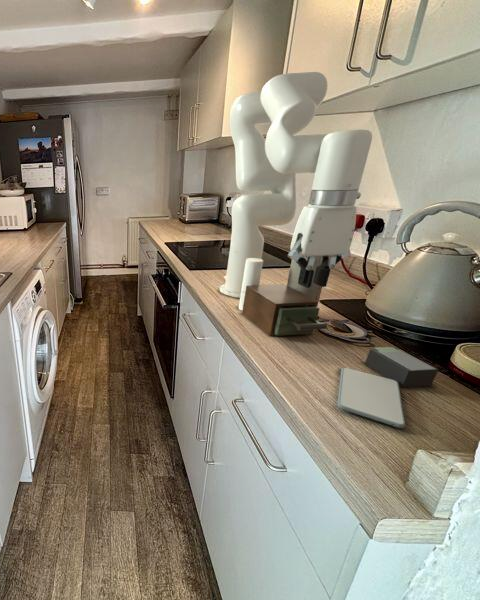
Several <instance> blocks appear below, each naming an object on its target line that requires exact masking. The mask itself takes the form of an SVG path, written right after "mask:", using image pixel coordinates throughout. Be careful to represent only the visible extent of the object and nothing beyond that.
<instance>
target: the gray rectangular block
mask: <svg viewBox="0 0 480 600" xmlns="http://www.w3.org/2000/svg"><path fill="white" fill-rule="evenodd" d="M364 364H365V365H366V366H368V367H369V368H371V369H373V370H374V371H375V372H377V373H379V374H380V375H382V376H383V377H384V378H388V379H392V380H395V381H397V382H398V383H399V387H402V388H416V387H432V385H433V383H434V380H435V378H436V376H437V374H438V371H439V369H438V368H436V367H435V366H434V365H431V364H429V363H427V362H426V361H424V360H422V359H419V358H417V357H415V356H414V355H412V354H410V353H409V352H406V351H404V350H402V349H400V348H399V347H395V346H394V347H393V346H381V347H374V348H369V350H368V353H367V356H366V359H365V362H364Z"/></svg>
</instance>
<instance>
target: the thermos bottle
mask: <svg viewBox="0 0 480 600" xmlns="http://www.w3.org/2000/svg"><path fill="white" fill-rule="evenodd" d="M301 254H302V252H300V253H299V256H301ZM328 258H329V257H328ZM307 260H308V258H307ZM320 260H321V256H316V258H315V261H314V264H313V267H312V269H311V270H314V275H315V271H316V267H317V266H320ZM300 269H301V267H299V266H298V264H297V262H296V261H295V260H293V259H291V263H290V267H289V272H288V277H287V283H286V286H287V287H289V288H291V289H293V290H295V291H297V292H299V293H301V294H303V295H305V296H307V297H309V298H311V299H313V300H315V301H317V302H318V303H317V307H318V305H319V302H320V297H321V295H322V290H323V287H321V286H319V285H317V284H314V283H313V279H314V275H313V279H312V283H311V287H310V288H306V287H304V286H302V285H299V284H298V278H299V274H300Z"/></svg>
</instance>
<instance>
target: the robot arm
mask: <svg viewBox="0 0 480 600" xmlns="http://www.w3.org/2000/svg"><path fill="white" fill-rule="evenodd" d="M328 85H329V84H328V79H327V77H326V76H325V74H324V73H321V72H319V71H306V72H305V71H304V72H303V71H302V72H289V73H282V74H278V75H276V76H273V77H271V78H270V79H269V80H268V81H267V82H266V83H265V84H264V86H263V87H262V89H261V90H259V91H251V92H246V93H244V94H242V95H240V96H238V97H237V98H236V99H235V100H234V102H233V104H232V105H231V108H230V114H229V132H230V136H231V139H232V143H233V146H234V152H235V155H234V158H235V182H236V187H237V189H238V190H239V191H241V192H270V193H251V194H245V195H244V194H243V195H241V196H239V197H238V198H236V199H235V200H234V201H233V203H232V206H231V235H230V244H229V245H230V246H229V253H228V259H227V267H226V275H224V277H223V279H224V280H225V282H224V283H223V284H222V285H220V286H219V292H220V293H221V294H224V295H225V296H228V297H231V298H237V299H240V296H241V289H242V283H243V276H244V270H245V263H246V259H247V258H258V259H262V258H263V253H264V245H265V239H264V235H263V234H262V232H261V231H260V229H259V227H268V226H269V227H270V226H285V225H287V224H289V223H291V222H292V221H293V220H294V218H295V216H296V212H297V174H307V173H308V174H314V177H313V182H312V186H311V191H310V195H309V200H308V205H307V206H303V208H302V210H301V212H300V214H299V217H298V218H297V221H296V224H295V228H294V231H293V234H292V237H291V242H290V251H289V252H288V254H287V258H289V259H290V260H292V259H293V260H295V261H296V262H297V264H298V266H299V267H301V269H300V274H299V278H298V284H299V285H302V286H304V287H306V288H310V287H311V283H312V279H313V275H314V270H311V269H312V267H313V264H314V261H315V258H316V256H321V260H320V266H317V267H316V271H315V275H314V279H313V283H314V284H317V285H319V286H321V287H322V288H326V287H327V284H328V281H329V277H330V273H331V270H333V269H335V267H336V265H337V264H339V262H340V261H341V260H343V259H345V258H348V257H349V256H351V253H352V252H351V249H350V248H351V245H352V243H353V239H354V234H355V230H356V229H355V228H356V223H357V222H356V221H357V206H356V202H357V200H359V199H360V198H361V196H362V193H361V192H359V189H360V187H361V183H362V179H363V175H364V172H365V168H366V163H367V160H368V158H369V157H368V156H369V152H370V149H371V144H372V140H373V133H372V131H370V130H369V129H361V128H360V129H359V128H358V129H347V130H339V131H334V132H330V133H324V134H323V133H317V134H316V133H315V134H299V135H297V134H298V133H300V132H302V131H303V130H304V129H306V128H307V127H308V126H309V125H310V124H311V122H313V120H314V118H315V117H316V112H317V108H319V106H320V105H321V104H322V103H323V102H324V100H325V98H326V95H327V93H328ZM259 125H270V126H269V128H268V130H267V133H266V136H265V137H264V135H263V134H262V133H261V131H260V130H259V129H258V128H256V126H259ZM300 252H302V254H301V256H299V253H300ZM328 257H329V258H328ZM307 258H308V260H307Z"/></svg>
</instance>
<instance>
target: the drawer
mask: <svg viewBox="0 0 480 600" xmlns="http://www.w3.org/2000/svg"><path fill="white" fill-rule="evenodd" d="M319 312H320V307H318V306H311V307H309V305H301V306H281V307H279V308H278V313H277V318H276V323H275V327H274V330H275V332H274V334H276V335H275V336H278V337H279V336H295V335H296V336H297V335H313V334H314V332H315V331H316V330H326V329H327V328H328V325H327V323H326V322H320V321H319V320H318V316H319Z"/></svg>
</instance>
